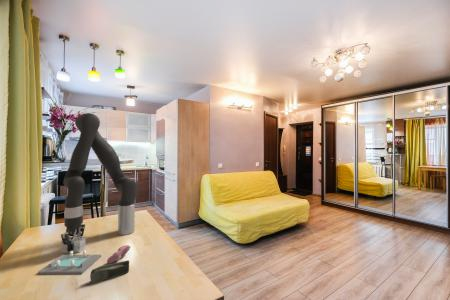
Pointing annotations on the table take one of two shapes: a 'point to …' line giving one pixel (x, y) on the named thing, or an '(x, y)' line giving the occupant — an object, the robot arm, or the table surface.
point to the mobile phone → (109, 271)
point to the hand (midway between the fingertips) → (73, 248)
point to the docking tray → (70, 264)
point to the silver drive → (76, 245)
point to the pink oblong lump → (118, 254)
